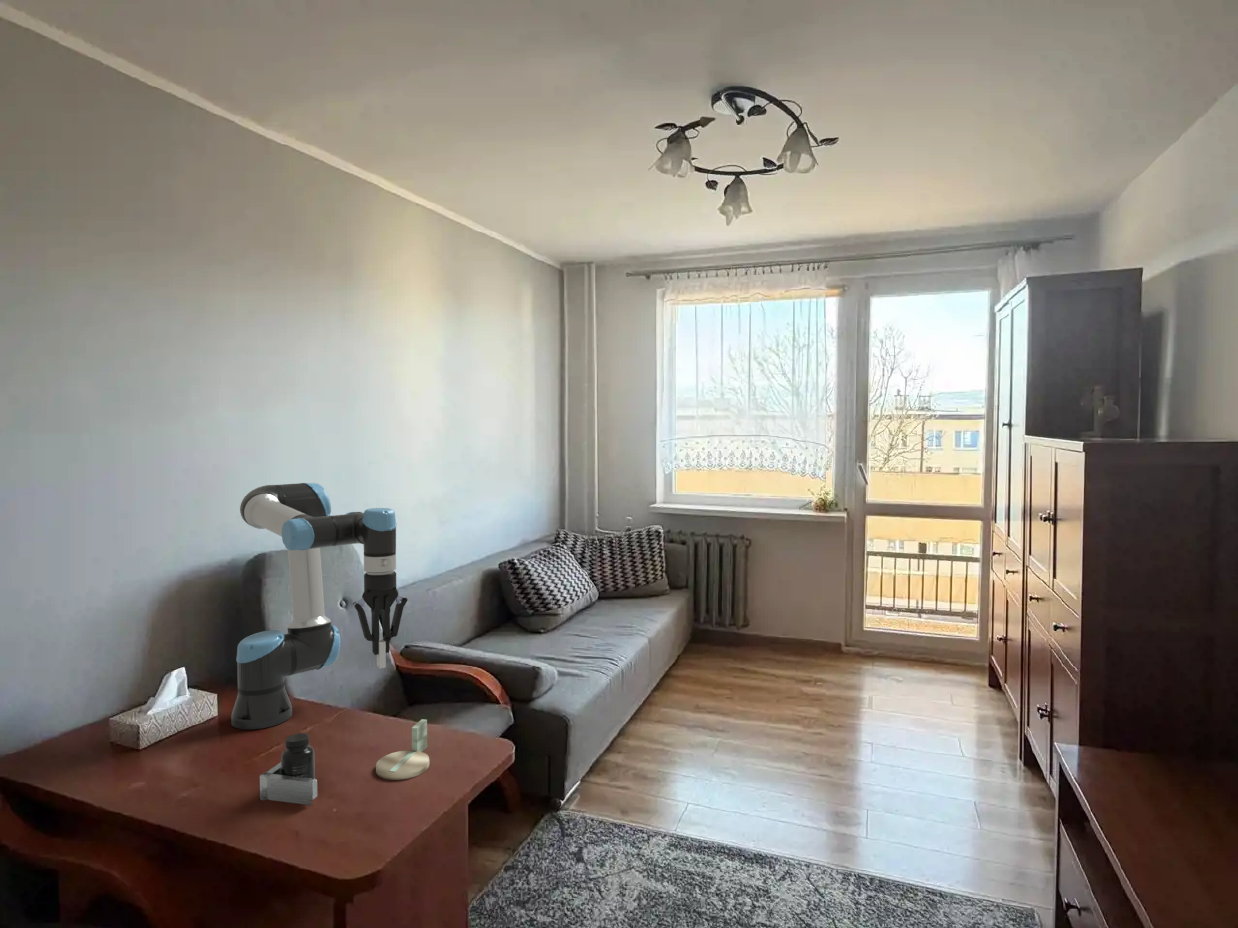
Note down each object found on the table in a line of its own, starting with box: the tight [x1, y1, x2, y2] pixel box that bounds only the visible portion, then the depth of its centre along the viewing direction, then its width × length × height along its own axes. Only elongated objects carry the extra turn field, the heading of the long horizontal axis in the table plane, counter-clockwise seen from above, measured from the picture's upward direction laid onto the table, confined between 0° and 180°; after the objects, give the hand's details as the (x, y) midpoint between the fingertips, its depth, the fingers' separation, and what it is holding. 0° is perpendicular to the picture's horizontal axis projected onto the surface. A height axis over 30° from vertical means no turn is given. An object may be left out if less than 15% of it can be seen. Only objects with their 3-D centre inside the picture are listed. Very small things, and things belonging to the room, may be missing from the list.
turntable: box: [375, 719, 430, 781], centre depth 172 cm, size 17×12×7 cm
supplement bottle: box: [280, 732, 316, 779], centre depth 161 cm, size 7×7×12 cm
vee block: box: [259, 761, 318, 806], centre depth 160 cm, size 18×10×5 cm, turn 33°
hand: (381, 666), depth 178 cm, fingers closed
